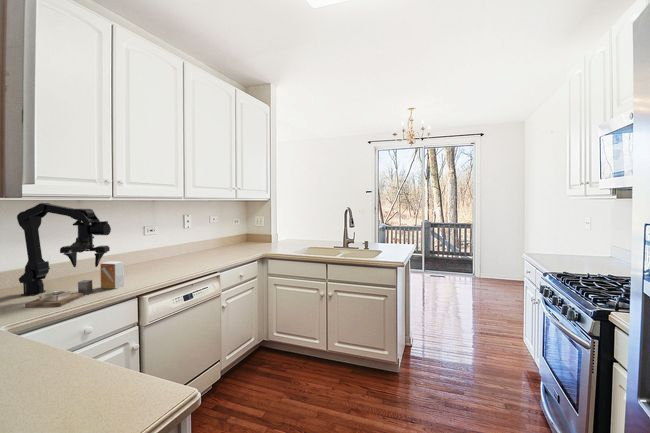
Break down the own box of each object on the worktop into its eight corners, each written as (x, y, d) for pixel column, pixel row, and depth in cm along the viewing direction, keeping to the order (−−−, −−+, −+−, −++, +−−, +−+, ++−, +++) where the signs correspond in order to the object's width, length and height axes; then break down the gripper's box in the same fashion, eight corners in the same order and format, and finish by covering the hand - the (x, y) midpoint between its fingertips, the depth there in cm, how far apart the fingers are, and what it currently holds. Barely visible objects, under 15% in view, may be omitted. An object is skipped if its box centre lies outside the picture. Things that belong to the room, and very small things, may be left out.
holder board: (25, 307, 132) (24, 298, 131) (50, 296, 145) (50, 289, 145) (61, 306, 133) (60, 298, 133) (83, 296, 147) (82, 288, 147)
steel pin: (78, 294, 149) (77, 282, 149) (83, 292, 153) (83, 280, 153) (87, 294, 150) (86, 282, 150) (92, 291, 154) (92, 279, 153)
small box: (100, 288, 159) (99, 263, 159) (110, 285, 166) (109, 260, 165) (115, 289, 159) (114, 263, 158) (124, 285, 165) (123, 261, 164)
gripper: (51, 236, 141) (52, 271, 141) (98, 237, 144) (98, 270, 145) (66, 234, 151) (67, 265, 152) (109, 234, 155) (110, 265, 156)
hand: (85, 266), depth 151 cm, fingers open, 9 cm apart
